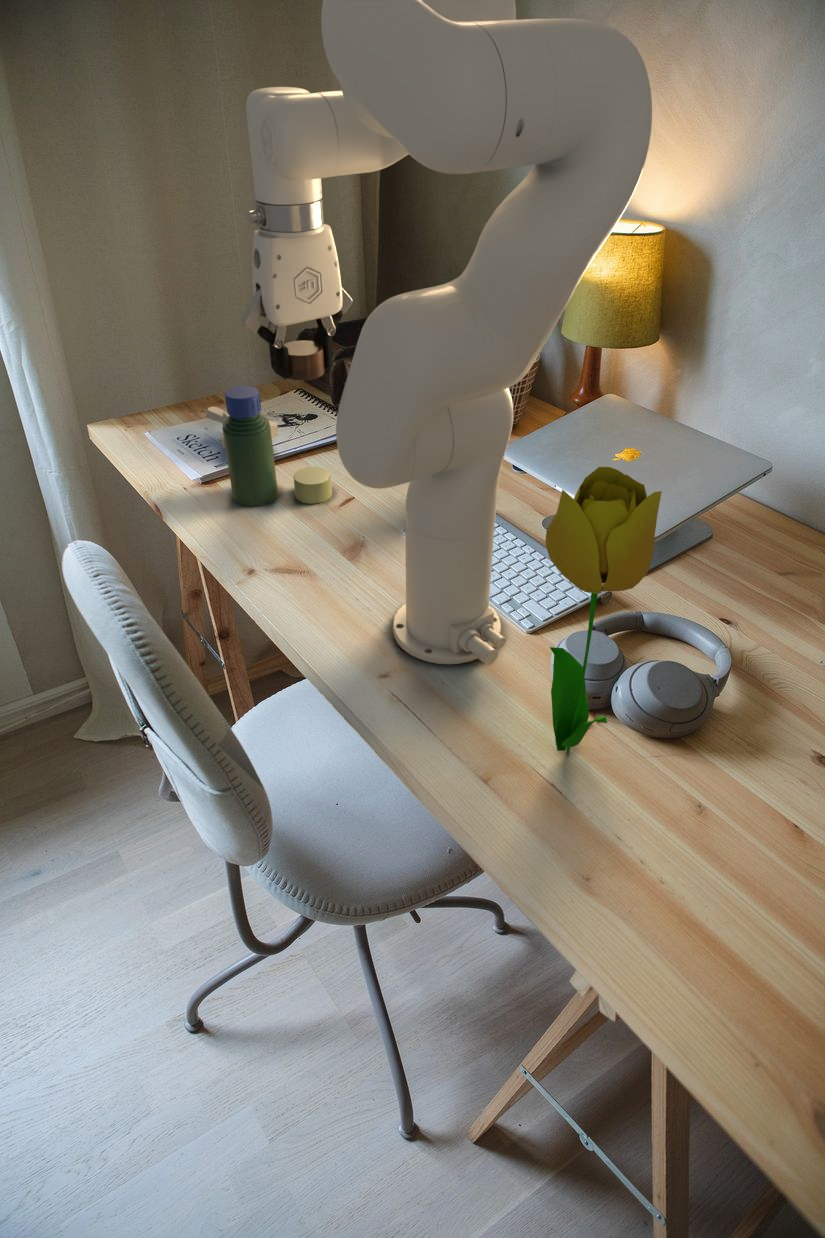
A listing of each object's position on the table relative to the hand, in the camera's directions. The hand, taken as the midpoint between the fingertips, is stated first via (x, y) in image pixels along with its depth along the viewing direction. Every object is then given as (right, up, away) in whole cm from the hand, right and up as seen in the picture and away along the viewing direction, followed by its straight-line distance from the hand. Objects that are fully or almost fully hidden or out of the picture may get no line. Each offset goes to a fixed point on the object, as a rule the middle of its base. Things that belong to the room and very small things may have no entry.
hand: (303, 368), depth 105 cm
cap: (-9, -2, +7) cm, 12 cm away
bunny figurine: (-14, -3, +31) cm, 34 cm away
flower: (+29, -45, -23) cm, 59 cm away
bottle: (-9, -14, +17) cm, 23 cm away
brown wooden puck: (0, 0, 0) cm, 0 cm away
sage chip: (-1, -14, +17) cm, 22 cm away
